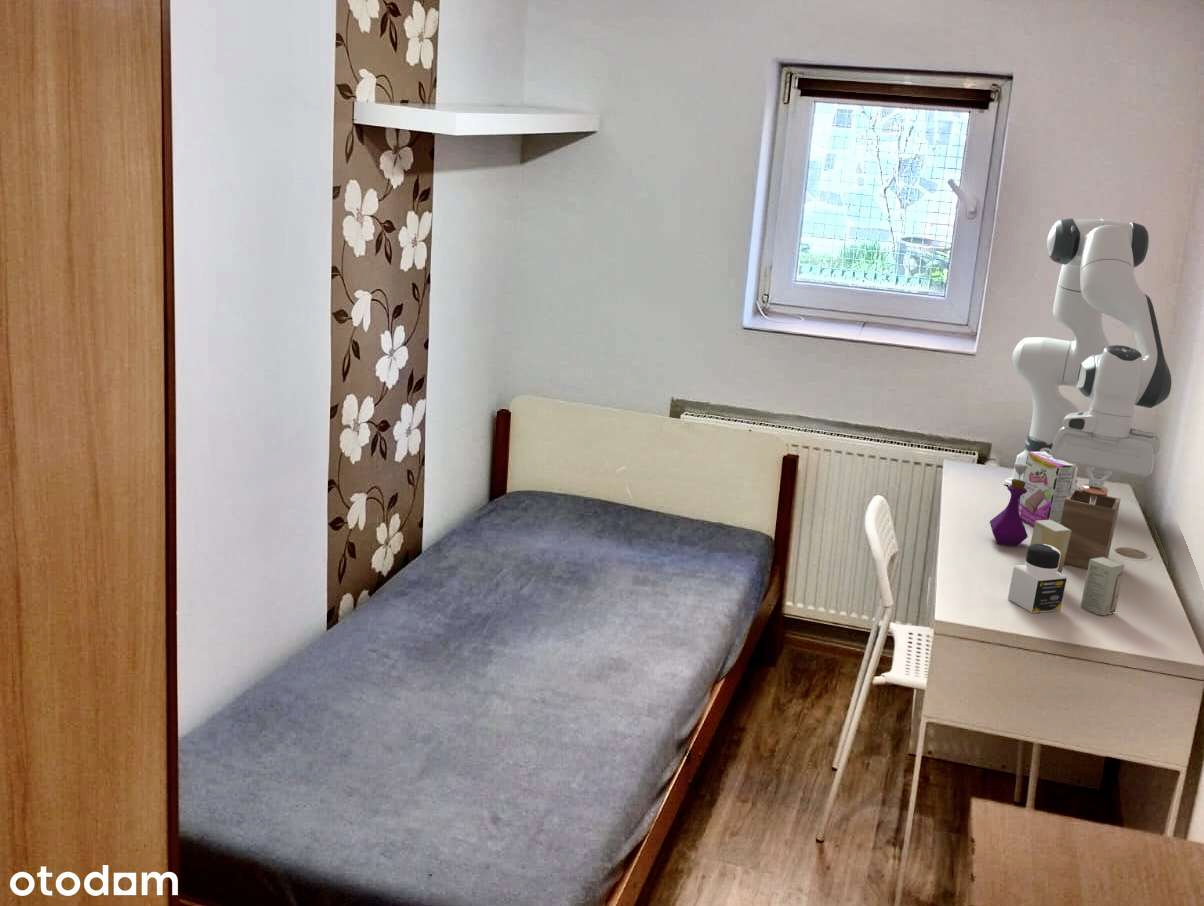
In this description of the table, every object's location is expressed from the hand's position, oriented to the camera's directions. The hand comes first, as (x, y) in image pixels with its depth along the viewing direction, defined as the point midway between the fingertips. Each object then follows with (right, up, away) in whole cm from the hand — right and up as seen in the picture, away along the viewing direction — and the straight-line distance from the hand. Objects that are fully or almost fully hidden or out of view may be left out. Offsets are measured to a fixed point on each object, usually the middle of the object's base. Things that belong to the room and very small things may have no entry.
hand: (1095, 487), depth 265 cm
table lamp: (-1, -13, +4) cm, 13 cm away
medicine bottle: (-21, -22, -23) cm, 38 cm away
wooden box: (-1, -16, +5) cm, 17 cm away
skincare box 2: (-9, -23, -22) cm, 33 cm away
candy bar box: (-3, -10, +26) cm, 28 cm away
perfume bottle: (-15, -13, +12) cm, 23 cm away
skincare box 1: (-15, -19, -9) cm, 26 cm away
